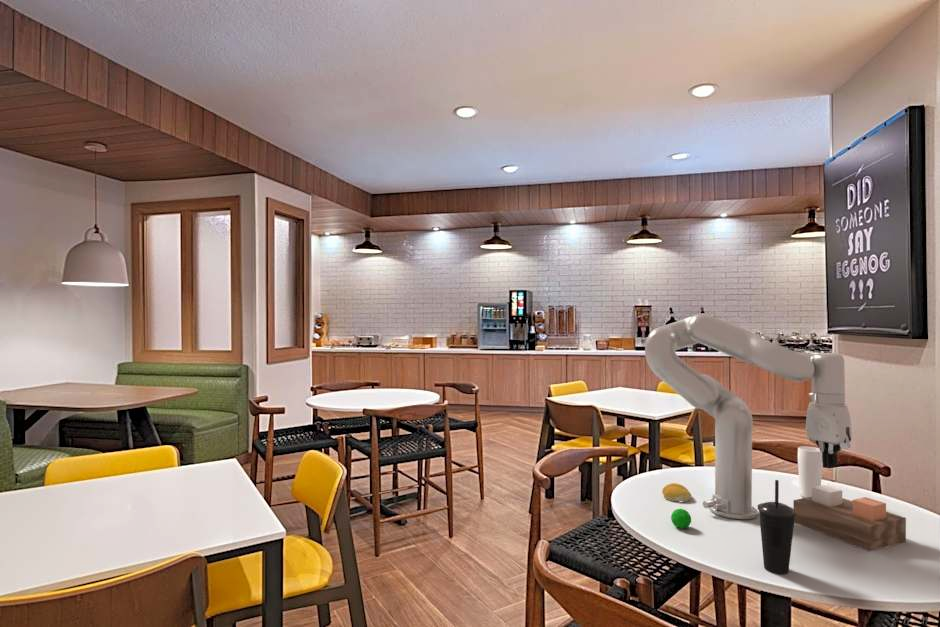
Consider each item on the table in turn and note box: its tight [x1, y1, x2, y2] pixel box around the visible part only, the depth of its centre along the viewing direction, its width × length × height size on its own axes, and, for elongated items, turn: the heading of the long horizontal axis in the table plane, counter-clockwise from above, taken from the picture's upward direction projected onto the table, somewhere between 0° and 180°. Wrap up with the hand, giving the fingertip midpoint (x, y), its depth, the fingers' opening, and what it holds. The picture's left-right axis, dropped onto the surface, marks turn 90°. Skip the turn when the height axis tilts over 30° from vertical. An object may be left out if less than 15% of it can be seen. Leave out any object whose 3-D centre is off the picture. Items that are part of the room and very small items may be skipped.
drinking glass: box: [797, 445, 824, 498], centre depth 174 cm, size 7×7×15 cm
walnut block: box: [792, 497, 907, 552], centre depth 148 cm, size 14×20×6 cm
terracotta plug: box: [852, 496, 887, 521], centre depth 143 cm, size 5×5×4 cm
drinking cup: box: [757, 479, 796, 575], centre depth 126 cm, size 8×8×20 cm
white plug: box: [812, 484, 843, 507], centre depth 153 cm, size 5×5×4 cm
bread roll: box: [661, 482, 692, 502], centre depth 174 cm, size 8×9×4 cm
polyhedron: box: [670, 508, 692, 529], centre depth 151 cm, size 5×5×5 cm
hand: (829, 467), depth 152 cm, fingers closed
